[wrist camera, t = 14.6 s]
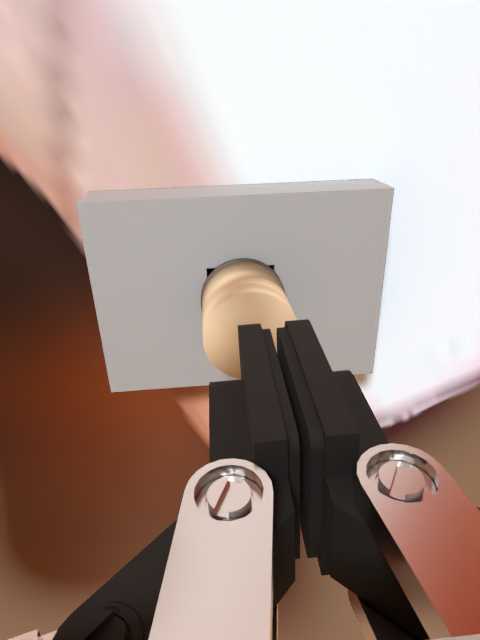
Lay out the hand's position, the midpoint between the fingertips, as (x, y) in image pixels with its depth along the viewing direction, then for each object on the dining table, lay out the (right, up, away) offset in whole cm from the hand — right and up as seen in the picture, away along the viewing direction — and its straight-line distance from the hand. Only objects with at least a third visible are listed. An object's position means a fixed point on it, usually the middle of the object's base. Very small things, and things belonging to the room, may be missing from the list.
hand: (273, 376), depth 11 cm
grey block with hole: (-1, +5, +24) cm, 24 cm away
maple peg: (-1, +4, +23) cm, 23 cm away
